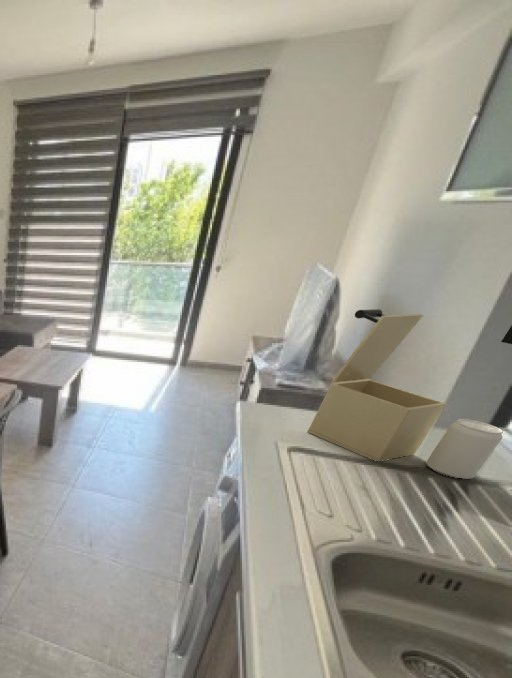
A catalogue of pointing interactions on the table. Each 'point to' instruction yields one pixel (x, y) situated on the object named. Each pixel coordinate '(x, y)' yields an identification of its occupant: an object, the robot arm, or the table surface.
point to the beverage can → (464, 448)
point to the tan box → (375, 419)
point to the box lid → (376, 344)
